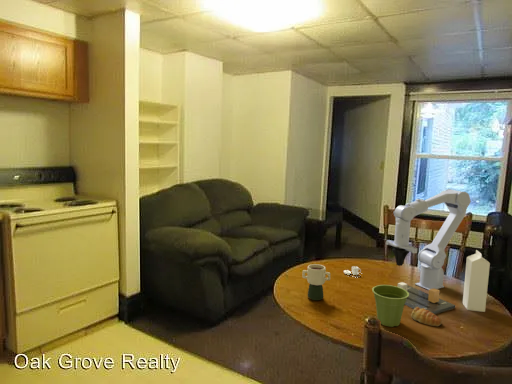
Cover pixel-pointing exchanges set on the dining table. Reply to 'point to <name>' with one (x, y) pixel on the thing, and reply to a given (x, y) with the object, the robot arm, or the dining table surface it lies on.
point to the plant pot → (389, 303)
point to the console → (426, 301)
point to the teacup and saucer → (354, 271)
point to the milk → (476, 282)
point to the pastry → (426, 317)
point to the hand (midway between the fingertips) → (399, 265)
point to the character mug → (316, 280)
